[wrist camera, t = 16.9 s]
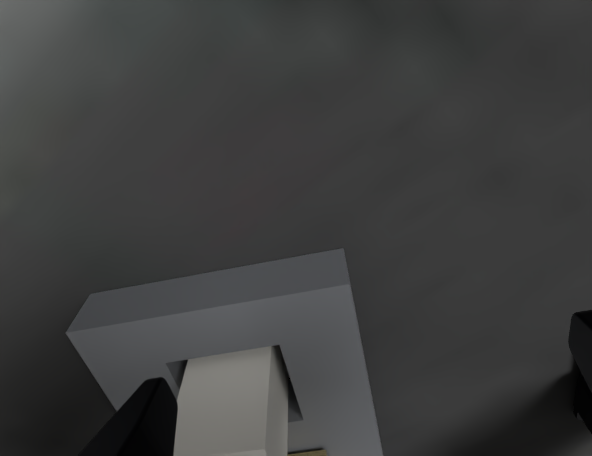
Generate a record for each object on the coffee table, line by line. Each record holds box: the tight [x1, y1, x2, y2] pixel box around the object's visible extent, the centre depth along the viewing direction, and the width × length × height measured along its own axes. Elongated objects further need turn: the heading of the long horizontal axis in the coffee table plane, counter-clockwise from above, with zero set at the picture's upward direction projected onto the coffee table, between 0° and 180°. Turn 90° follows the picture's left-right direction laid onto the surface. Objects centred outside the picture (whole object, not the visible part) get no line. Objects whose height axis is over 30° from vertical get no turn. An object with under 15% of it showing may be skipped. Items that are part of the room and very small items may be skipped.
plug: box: [173, 345, 288, 456], centre depth 22 cm, size 4×4×10 cm
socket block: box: [66, 248, 383, 456], centre depth 27 cm, size 14×20×3 cm
